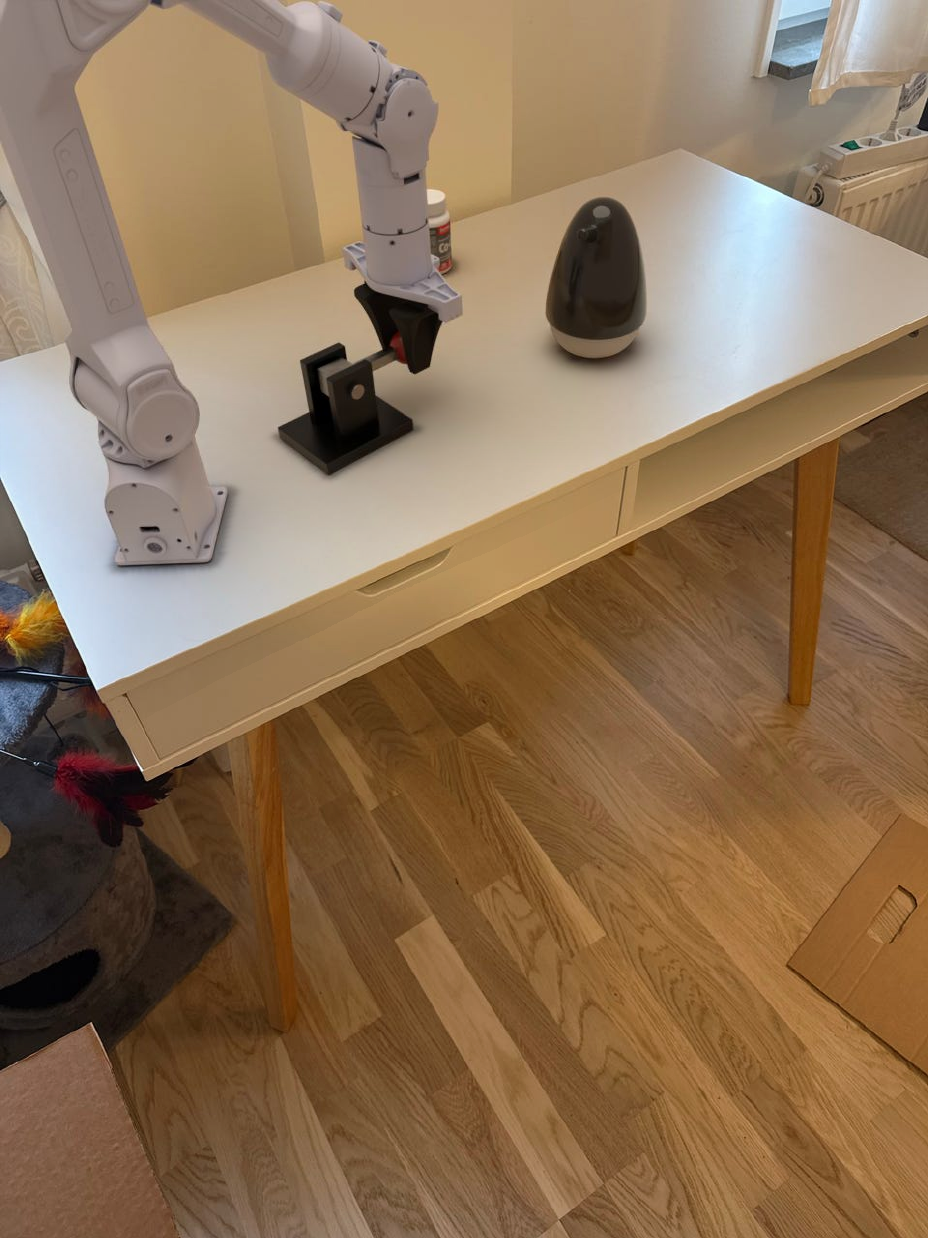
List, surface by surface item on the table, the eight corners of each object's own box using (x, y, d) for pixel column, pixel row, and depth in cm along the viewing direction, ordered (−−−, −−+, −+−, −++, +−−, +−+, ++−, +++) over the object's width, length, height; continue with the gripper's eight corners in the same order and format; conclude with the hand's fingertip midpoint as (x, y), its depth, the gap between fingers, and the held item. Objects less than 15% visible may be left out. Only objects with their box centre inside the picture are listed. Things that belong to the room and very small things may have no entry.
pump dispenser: (527, 358, 97) (530, 212, 86) (567, 312, 103) (575, 170, 92) (620, 381, 93) (635, 231, 82) (655, 332, 99) (674, 187, 88)
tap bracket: (362, 395, 93) (353, 324, 87) (413, 429, 89) (407, 357, 83) (279, 437, 89) (263, 365, 83) (328, 475, 84) (315, 402, 79)
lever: (410, 349, 91) (407, 318, 88) (431, 361, 89) (429, 331, 87) (317, 393, 86) (312, 362, 83) (338, 407, 84) (333, 376, 82)
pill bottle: (447, 278, 109) (444, 206, 103) (408, 275, 110) (402, 204, 104) (455, 259, 112) (452, 188, 106) (417, 256, 113) (412, 186, 107)
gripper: (487, 231, 77) (490, 375, 87) (379, 182, 85) (393, 319, 95) (422, 260, 74) (432, 405, 84) (316, 206, 82) (337, 345, 92)
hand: (408, 361), depth 89 cm, fingers closed on lever, 3 cm apart
